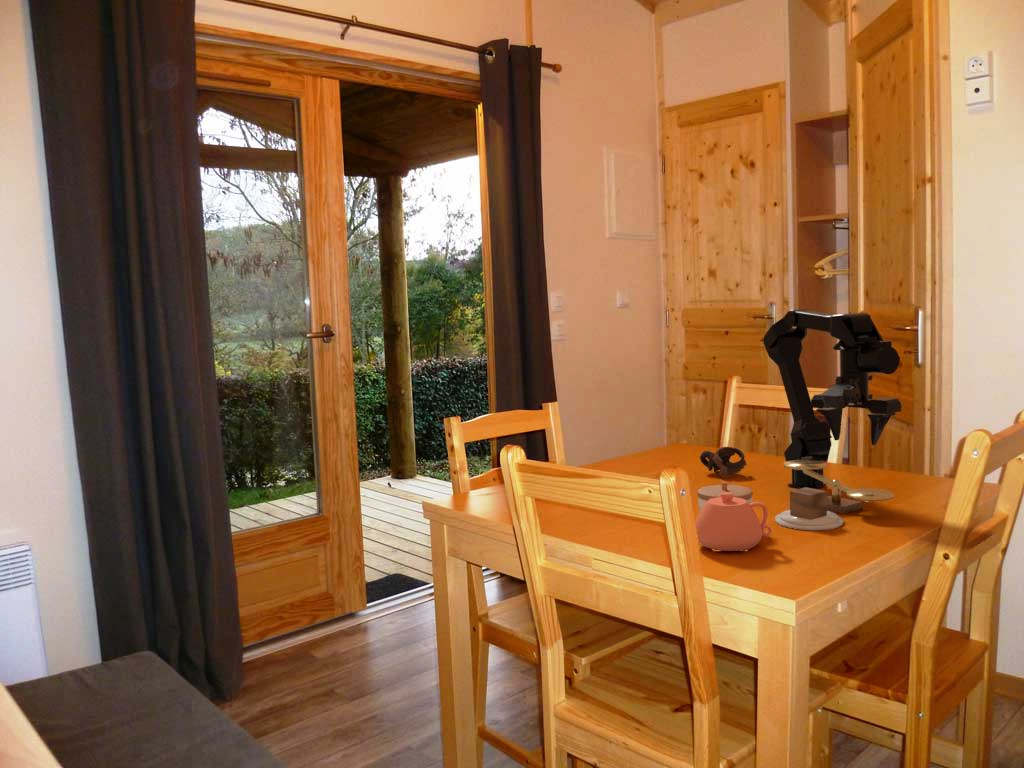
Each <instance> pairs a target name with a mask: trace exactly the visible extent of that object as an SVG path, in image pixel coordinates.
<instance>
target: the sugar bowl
mask: <svg viewBox="0 0 1024 768" xmlns="http://www.w3.org/2000/svg"><path fill="white" fill-rule="evenodd" d="M720 496H721V497H717V498H712V499H709V500H708V501H707V502H706V503H705V505H704V506H703V508H702V510H701V511H700V510H699V512H698V513H699V514H698V515H697V518H696V519H695V520H696V521H695V524H694V526H695V525H696V529H697V534H698V539H699V541H698V542H699V543H700V544H701V545H702V546H703V547H704V548H707V549H710V550H712V549H714V550H722V551H721V552H723V551H724V552H732V551H733V552H734V551H735V552H737V551H738V552H740V551H739V550H742V551H745V550H749V549H752V548H754V547H756V546H757V544H758V543H759V542H760V541H761V539H762V537H767V536H769V535H771V534H772V532H773V531H772V527H771V526H770V525H768V524H766V523H767V520H768V516H769V515H768V514H769V511H768V507H767V506H766V505H765V504H764V503H763V502H760V501H752V503H750V504H749V503H748V502H747V501H746V500H745V499H742V498H737V497H733V496H734V494H733V493H731V492H723V493H720ZM755 507H760V508H762V511H763V512H762V517H761V521H760V519H759V516H758V515H757V513H756V512H755V510H754V508H755ZM765 529H767V530H766V531H765Z"/></svg>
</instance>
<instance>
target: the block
mask: <svg viewBox="0 0 1024 768" xmlns="http://www.w3.org/2000/svg"><path fill="white" fill-rule="evenodd" d="M827 496H828V495H827V490H823V489H818V488H816V489H812V488H807V487H805V488H796V489H793V490H789V510H790V515H791V516H796V517H800V518H804V519H809V520H812V519H816V518H820V517H823V516H827V511H828V510H827Z"/></svg>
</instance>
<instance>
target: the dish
mask: <svg viewBox="0 0 1024 768" xmlns="http://www.w3.org/2000/svg"><path fill="white" fill-rule="evenodd" d="M774 517H775V518H774V521H776V522H775V523H776V524H777V523H778V524H777V525H779V526H781V525H782V526H781V527H784V528H787V527H788V529H792V528H793V530H798V529H799V530H800V531H826V530H832V529H837V528H840V527H842V526H843V524H844V519H843V517H841V516H840V515H837V514H836V512H833V511H829V510H827V516H823V517H820V518H816V519H812V520H809V519H804V518H800V517H796V516H791V515H790V509H787V510H784V511H782V512H781V513H779V514H777V515H775V516H774Z"/></svg>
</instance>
